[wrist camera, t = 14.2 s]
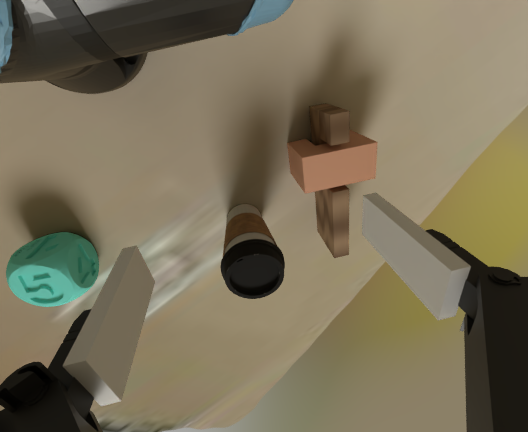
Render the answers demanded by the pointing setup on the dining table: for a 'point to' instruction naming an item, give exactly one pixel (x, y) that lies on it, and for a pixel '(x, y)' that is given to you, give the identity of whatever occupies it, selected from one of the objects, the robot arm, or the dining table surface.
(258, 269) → the coffee cup
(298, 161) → the notched block
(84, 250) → the decorative dice
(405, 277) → the robot arm
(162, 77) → the dining table surface
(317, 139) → the slotted board
